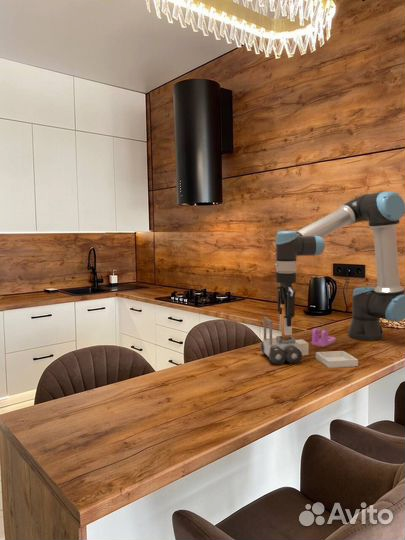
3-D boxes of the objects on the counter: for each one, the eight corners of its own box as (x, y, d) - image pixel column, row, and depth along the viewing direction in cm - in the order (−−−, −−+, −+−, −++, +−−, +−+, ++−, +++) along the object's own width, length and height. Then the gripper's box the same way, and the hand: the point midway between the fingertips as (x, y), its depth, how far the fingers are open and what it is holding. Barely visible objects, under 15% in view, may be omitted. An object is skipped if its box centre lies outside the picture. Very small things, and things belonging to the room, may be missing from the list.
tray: (343, 357, 160) (343, 350, 160) (357, 366, 149) (358, 359, 149) (315, 358, 159) (315, 352, 159) (328, 368, 148) (328, 361, 148)
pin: (288, 339, 161) (289, 303, 160) (292, 342, 157) (292, 305, 156) (278, 339, 160) (279, 304, 159) (282, 342, 156) (282, 305, 155)
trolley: (289, 352, 167) (289, 314, 165) (302, 363, 153) (302, 321, 151) (260, 354, 165) (260, 315, 164) (270, 365, 151) (270, 323, 150)
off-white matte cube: (302, 351, 169) (302, 339, 169) (308, 355, 163) (308, 343, 163) (288, 352, 168) (288, 340, 168) (293, 356, 162) (293, 344, 162)
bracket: (323, 347, 175) (324, 330, 175) (311, 344, 179) (312, 328, 178) (337, 340, 185) (337, 325, 184) (325, 338, 189) (326, 323, 188)
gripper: (269, 270, 165) (269, 327, 167) (284, 274, 147) (283, 339, 149) (287, 269, 166) (287, 327, 168) (304, 274, 148) (303, 338, 150)
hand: (285, 332), depth 158 cm, fingers open, 5 cm apart
